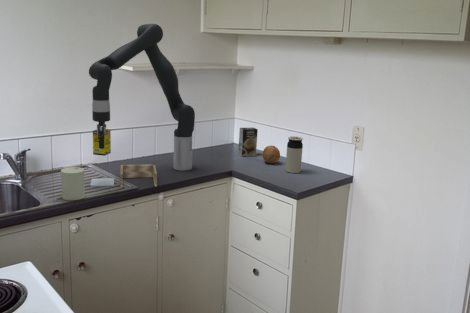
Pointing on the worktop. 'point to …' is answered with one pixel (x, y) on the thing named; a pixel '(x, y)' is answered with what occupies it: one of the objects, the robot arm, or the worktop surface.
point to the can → (72, 183)
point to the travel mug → (294, 154)
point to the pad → (102, 182)
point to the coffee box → (247, 142)
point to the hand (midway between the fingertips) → (102, 146)
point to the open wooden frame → (138, 172)
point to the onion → (271, 154)
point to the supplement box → (106, 143)
